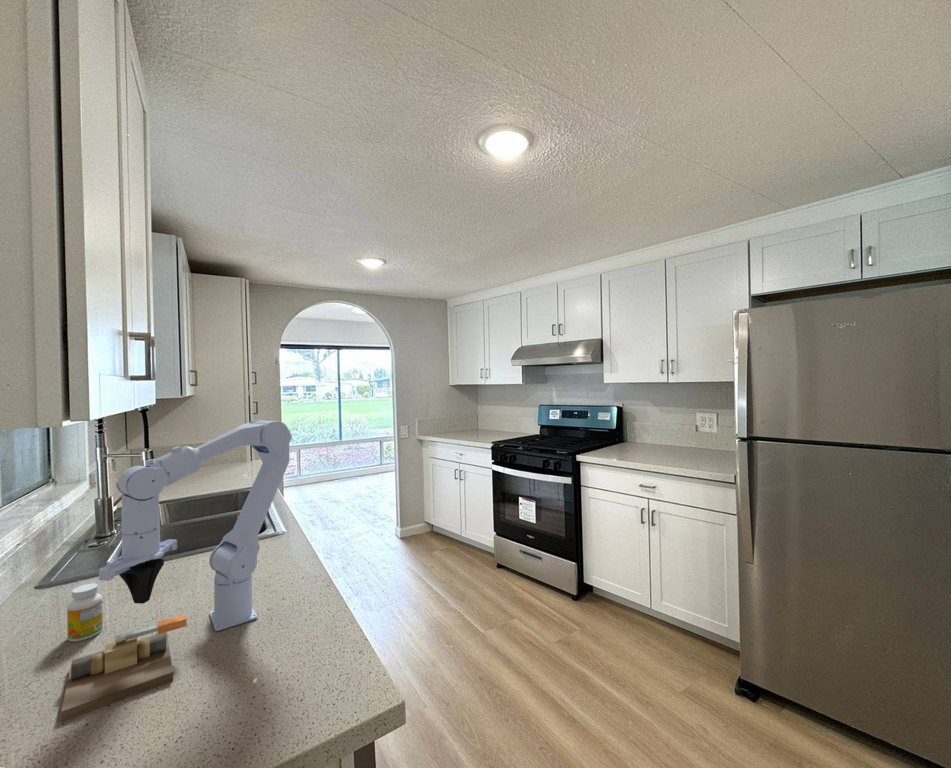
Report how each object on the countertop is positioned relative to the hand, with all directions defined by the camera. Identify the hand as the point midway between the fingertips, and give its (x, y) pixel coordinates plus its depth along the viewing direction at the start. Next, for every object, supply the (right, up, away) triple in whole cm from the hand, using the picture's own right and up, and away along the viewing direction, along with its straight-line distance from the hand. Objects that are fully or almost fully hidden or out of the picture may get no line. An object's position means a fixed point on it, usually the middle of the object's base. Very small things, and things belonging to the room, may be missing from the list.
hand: (141, 601), depth 81 cm
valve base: (0, -10, -4) cm, 11 cm away
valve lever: (+3, -5, -2) cm, 6 cm away
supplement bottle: (-18, -11, +8) cm, 22 cm away
